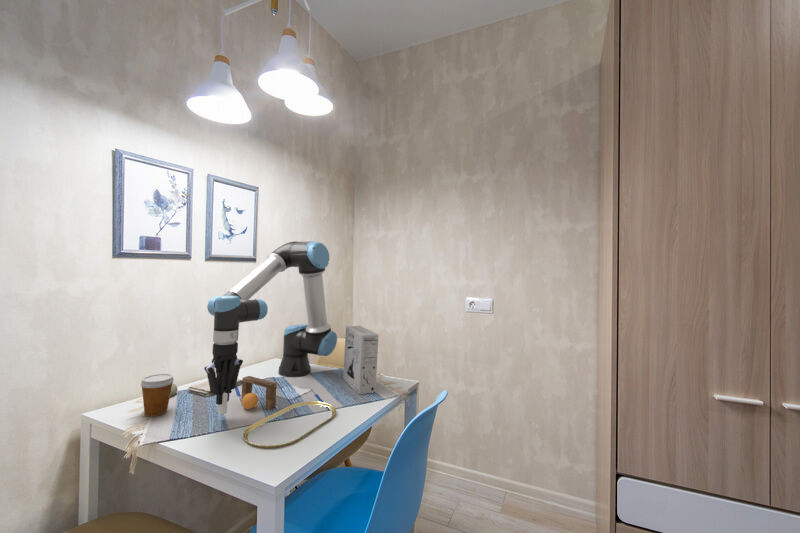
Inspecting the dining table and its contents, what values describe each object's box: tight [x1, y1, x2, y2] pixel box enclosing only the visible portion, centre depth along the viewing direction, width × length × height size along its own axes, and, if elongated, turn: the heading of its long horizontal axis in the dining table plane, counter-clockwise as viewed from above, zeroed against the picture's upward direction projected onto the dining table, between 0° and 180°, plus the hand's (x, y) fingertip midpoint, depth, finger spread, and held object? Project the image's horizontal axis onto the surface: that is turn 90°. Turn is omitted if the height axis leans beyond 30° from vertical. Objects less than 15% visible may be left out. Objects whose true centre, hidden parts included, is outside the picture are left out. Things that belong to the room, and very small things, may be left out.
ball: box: [241, 392, 259, 410], centre depth 126 cm, size 6×6×6 cm
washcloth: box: [187, 378, 242, 398], centre depth 144 cm, size 12×18×3 cm, turn 159°
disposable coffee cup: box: [140, 373, 175, 417], centre depth 119 cm, size 10×10×12 cm
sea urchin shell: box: [170, 382, 178, 397], centre depth 134 cm, size 9×8×8 cm
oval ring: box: [242, 400, 337, 449], centre depth 116 cm, size 19×35×2 cm, turn 156°
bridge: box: [240, 375, 278, 411], centre depth 129 cm, size 3×14×9 cm, turn 64°
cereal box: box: [342, 325, 379, 395], centre depth 155 cm, size 22×8×25 cm, turn 27°
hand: (222, 412), depth 116 cm, fingers closed
